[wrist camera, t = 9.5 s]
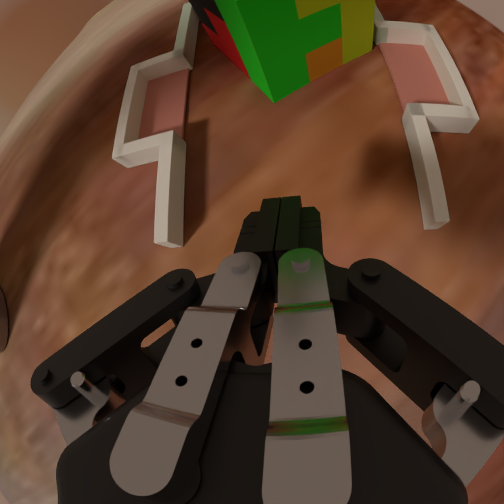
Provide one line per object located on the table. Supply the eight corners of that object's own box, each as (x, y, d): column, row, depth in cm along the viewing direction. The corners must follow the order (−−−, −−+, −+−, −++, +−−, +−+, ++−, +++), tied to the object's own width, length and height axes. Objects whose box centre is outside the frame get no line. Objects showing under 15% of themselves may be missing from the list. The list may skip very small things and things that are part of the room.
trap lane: (490, 226, 15) (506, 219, 13) (121, 251, 22) (103, 248, 20) (399, -6, 19) (400, -20, 17) (155, 29, 25) (146, 18, 23)
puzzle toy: (299, 1, 21) (280, -76, 12) (371, 51, 19) (375, -46, 9) (213, 45, 23) (168, -32, 13) (274, 103, 20) (235, 1, 11)
